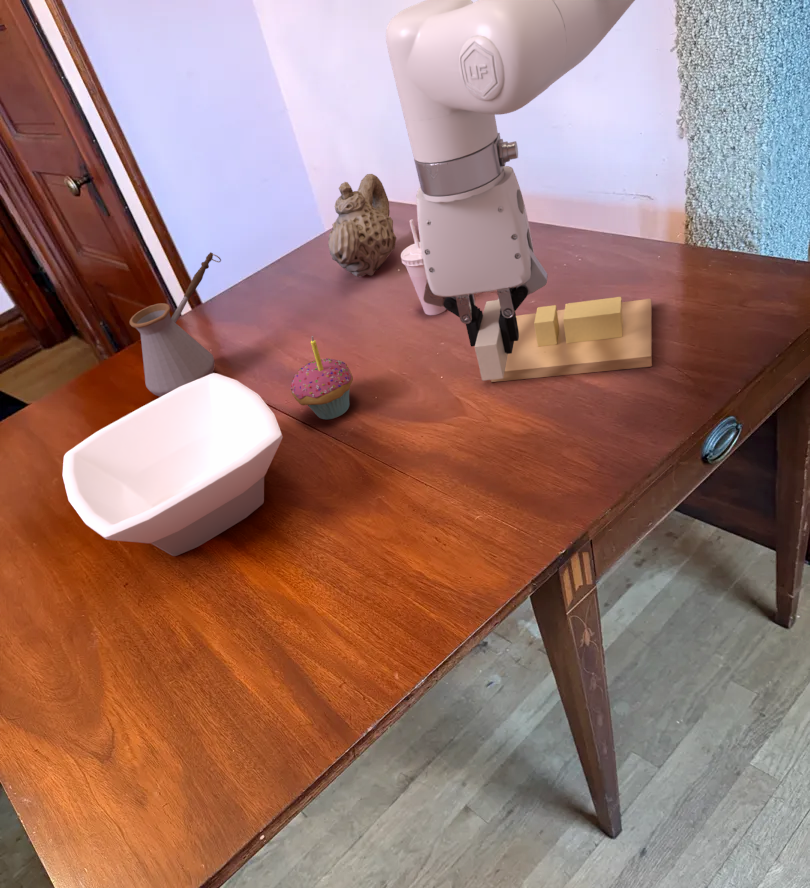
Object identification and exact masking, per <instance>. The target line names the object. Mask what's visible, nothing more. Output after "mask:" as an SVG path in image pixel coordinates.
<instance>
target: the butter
mask: <svg viewBox="0 0 810 888" xmlns="http://www.w3.org/2000/svg"><path fill="white" fill-rule="evenodd" d="M622 300H623V299H622V296H615V297H608V298H600V299H591V300H584V301H583V300H582V301H577V302H569V303H565V306H564V310H565V312H564V318H563V321H564V329H565V337H566V343H575V342H583V341H592V340H601V339H610V338H619V337H622V332H623V313H622V302H623V301H622Z"/></svg>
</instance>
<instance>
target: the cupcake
mask: <svg viewBox="0 0 810 888" xmlns="http://www.w3.org/2000/svg"><path fill="white" fill-rule="evenodd" d="M310 346H311V349H312V351H313V352H312V353H313V356H314V358H315V360H313V361H310V362H308V363H306V364H304V365H303V366H302V367H301V368H299V370H298V371H297V372H296V374H295V375H294V376H293V378H292V380H291V384H290V386H289V387H290V393H291V395H292V397H293V398H294V399H295V401H297V402H298V403H299V405H301V406H307V407H309V409H310V410H311V411H313V413H314V414H315V415H316V416H317V418H319V419H320V420H326V421H327V420H334V419H336V418H339V417H340V416H343V414H345V413H346V412H347V411H348V410H349V408H350V390H351V385H352V383H353V381H354V377H353V374H352V371H351V370H350V368H349V366H348V365H347V363H346V362H345V361H342V360H338V359H335V358H322V359H321V356H320V352H319V349H318V345H317V341H316V339H314V335H311V340H310Z"/></svg>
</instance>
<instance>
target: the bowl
mask: <svg viewBox="0 0 810 888" xmlns="http://www.w3.org/2000/svg"><path fill="white" fill-rule="evenodd" d="M283 438H284V437H283V434H282V431H281V429H280V425H279V423H278V419H277V418H276V415H275V412H273V411H272V410H271V408H270V406H268V405H267V403H266V402H265V401H264V399H263V398H262V397H261V396H260V394H259V393H257V392H255V390H253V389H251V388H250V387H248V386H246V385H245V384H243V383H242V382H240V381H239V380H237V379H235V378H232V377H229V376H227V375H223V374H221V373H215V372H213V373H212V374H209V375H207V376H205V377H202V378H200V379H197V380H195V381H192V382H190V383H187V384H185V385H183V386H180V387H178V388H176V389H175V390H173V391H171V392H169V393H167V394H165V395H163V396H161V397H159V396H158V398H156V399H154V400H152V401H150V402H148V403H146V404H145V405H143V406H141V407H139V408H137V409H135V410H134V411H133V410H132V412H129V413H127V414H126V415H124V416H122V417H120V418H119V419H117V420H115V421H113V422H112V423H109V424H108V425H106V426H104V427H102V428H100V429H99V430H97V431H95V432H94V433H93V434H91V435H90V436H88V437H86V438H85V439H83V441H81V442H79V443H77V444H76V445H75V446H74V447H72V448H71V449H69V450H68V451H66V452H65V453H64V455H63V461H62V462H63V463H62V473H61V474H62V479H63V484H64V488H65V492H66V496H67V500H68V502H69V503H70V505H71V506H72V508H73V509H74V510H75V512H76V513H77V514H78V516H79V517H80V519H81V520H82V521H83V524H85V525H86V526H87V527H88V528H90V529H91V530H93V531H94V532H95V533H97V534H98V535H100V537H102V538H103V539H104V540H108V541H116V542H117V541H119V542H129V543H139V544H151V545H153V546H154V547H157V548H158V549H160V550H161V551H164V552H165V553H167V554H168V555H171V556H172V557H177V556H180V555H182V554H184V553H187V552H189V551H192V550H194V549H196V548H198V547H200V546H202V545H203V544H205V543H207V542H208V541H210V540H211V539H214V538H216V537H217V536H218V535H220V534H222V533H224V532H226V531H227V530H228V529H230V528H232V527H234V526H235V525H236V524H238V523H241V522H242V521H243V520H245V519H247V518H248V517H249V516H250V515H251V514H253V513H254V512H255V511H256V510H258V508H260V507H261V506H262V505H263V504H264V503H265V476H266V475H267V473H268V469H269V468H270V466H271V464H272V462H273V459H274V457H275V455H276V453H277V451H278V448H279V447H280V444H281V442H282V440H283Z"/></svg>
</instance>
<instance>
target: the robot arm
mask: <svg viewBox="0 0 810 888" xmlns="http://www.w3.org/2000/svg"><path fill="white" fill-rule="evenodd" d="M635 1H636V0H476V1H474V2H473V0H423V1H420V2H418V3H415V4H413V5H411V6H408V7H406V8H404V9H402V10H401V11H399V12H397V13H396V14H395V15H394V16H393V17H392V18H390V21H389V22H388V23H387V26H386V30H385V43H386V48H387V53H388V57H389V61H390V65H391V69H392V74H393V78H394V82H395V86H396V90H397V94H398V99H399V102H400V106H401V111H402V115H403V120H404V124H405V128H406V133H407V136H408V139H409V143H410V148H411V153H412V156H413V161H414V165H415V169H416V174H417V178H418V182H419V186H420V187H418V189H417V191H416V192H417V193H416V196H415V197H416V198H415V199H416V201H415V203H416V204H415V205H416V215H417V216H416V218H417V228H418V236H419V242H420V243H421V250H422V256H423V262H424V267H425V272H426V276H427V281H426V287H425V292H424V298H423V299H424V301H425V302H426V303H428V304H432V305H436V306H440V307H441V306H443V307H445V308H446V310H447V311H449V312H450V313H452V314H453V315H455V316H456V317H458V318H459V320H460V321H461V323H462V324H464V325H465V327H466V332H467V335H468V340H469V344H470V347H475V344H476V340H477V336H478V332H479V329H480V326H481V322H482V318H483V310H481V308H480V307H479V306H478V305H477V306H476V299H475V294H481V293H488V292H494V291H496V293H497V298H499V302H500V307H501V309H500V316H499V328H500V330H501V336H502V341H503V346H504V351H505V353H506V354H510V353H512V350H513V344H514V341H518V339H519V330H518V325H517V319H516V316H517V314H516V311H517V310H518V308H519V307H520V306H521V305H522V304H523V302H524V301H525V300H526V298H527V297H528V296H529V295H531V294H533V293H535V292H537V291H539V290H540V289H542V288H544V287H545V286H546V285H547V283H548V279H549V277H548V275H549V274H548V273H547V271H546V270H545V268H544V266H543V265H542V263H541V262H540V261H539V258H538V257H537V256H536V254H535V248H534V242H533V236H532V231H531V227H530V221H529V219H528V213H527V209H526V204H525V201H524V198H523V194H522V193H523V192H522V189H521V187H520V183H519V181H518V178H517V175H516V172H515V170H514V168H513V167H512V166H509V165H506V164H507V163H508V162H510V161H511V160H516V159H519V147H518V143H517V141H510V142H508V141H506V140H505V141H504V139H503V138H501V134H500V132H498V126H497V119H496V116H497V115H500V116H501V115H507V114H511V113H513V112H516V111H518V110H520V109H522V108H523V107H525V106H527V105H528V104H529V103H531V102H532V101H534V99H536V98H537V97H539V96H540V95H541V94H542V93H544V92H545V91H546V90H547V89H549V88H550V87H551V86H552V85H553V84H554V83H556V82H557V81H558V80H559V79H561V78H562V77H563V76H565V75H566V74H568V72H570V71H572V70H573V69H574V68H575V67H577V66H579V64H580V63H582V62H583V61H584V60H585V59H586V58H587V57H588V56H589V55H590V54H591V53H592V52H593V51H594V50H595V48H597V46H598V45H599V44H600V43H601V42H602V41H603V39H604V38H605V37H606V36H607V35H608V33H609V32H610V31H611V30H612V29H613V28H614V26H615V25H616V24H617V23H618V22H619V20H620V19H621V18H622V17H623V16H624V14H625V13H626V12H627V11H628V10H629V9H630V7H631V6H632V4H633V3H634V2H635Z"/></svg>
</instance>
